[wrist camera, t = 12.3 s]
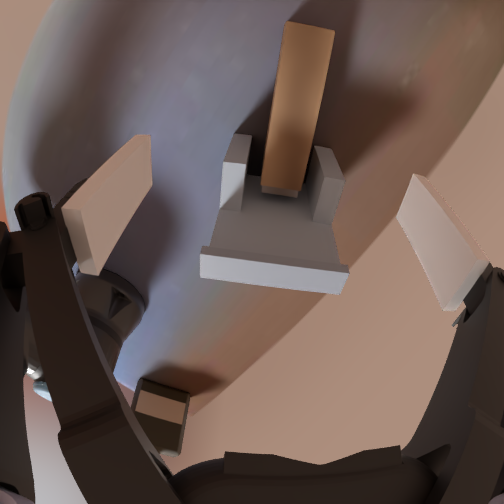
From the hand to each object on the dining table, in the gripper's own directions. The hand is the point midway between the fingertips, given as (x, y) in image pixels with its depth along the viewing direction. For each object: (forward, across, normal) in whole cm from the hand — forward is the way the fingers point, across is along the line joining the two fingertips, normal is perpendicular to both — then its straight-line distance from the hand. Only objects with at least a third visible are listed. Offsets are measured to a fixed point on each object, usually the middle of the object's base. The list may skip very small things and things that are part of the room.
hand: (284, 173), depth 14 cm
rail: (+19, +2, 0) cm, 19 cm away
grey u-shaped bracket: (+19, +2, -8) cm, 21 cm away
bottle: (+21, -20, -79) cm, 84 cm away
